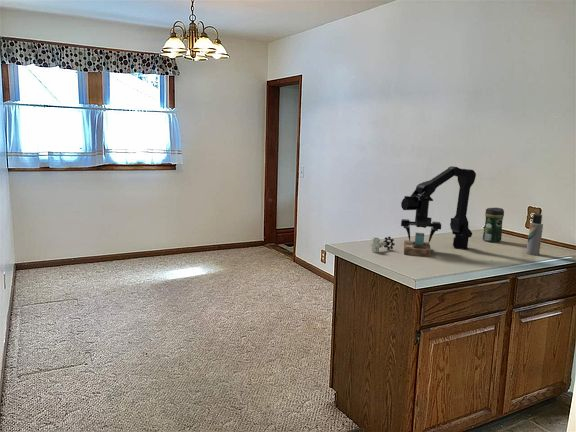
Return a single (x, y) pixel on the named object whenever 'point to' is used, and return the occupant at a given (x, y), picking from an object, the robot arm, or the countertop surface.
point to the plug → (419, 238)
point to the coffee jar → (493, 224)
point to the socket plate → (417, 249)
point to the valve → (381, 244)
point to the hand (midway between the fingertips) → (419, 241)
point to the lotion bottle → (535, 235)
